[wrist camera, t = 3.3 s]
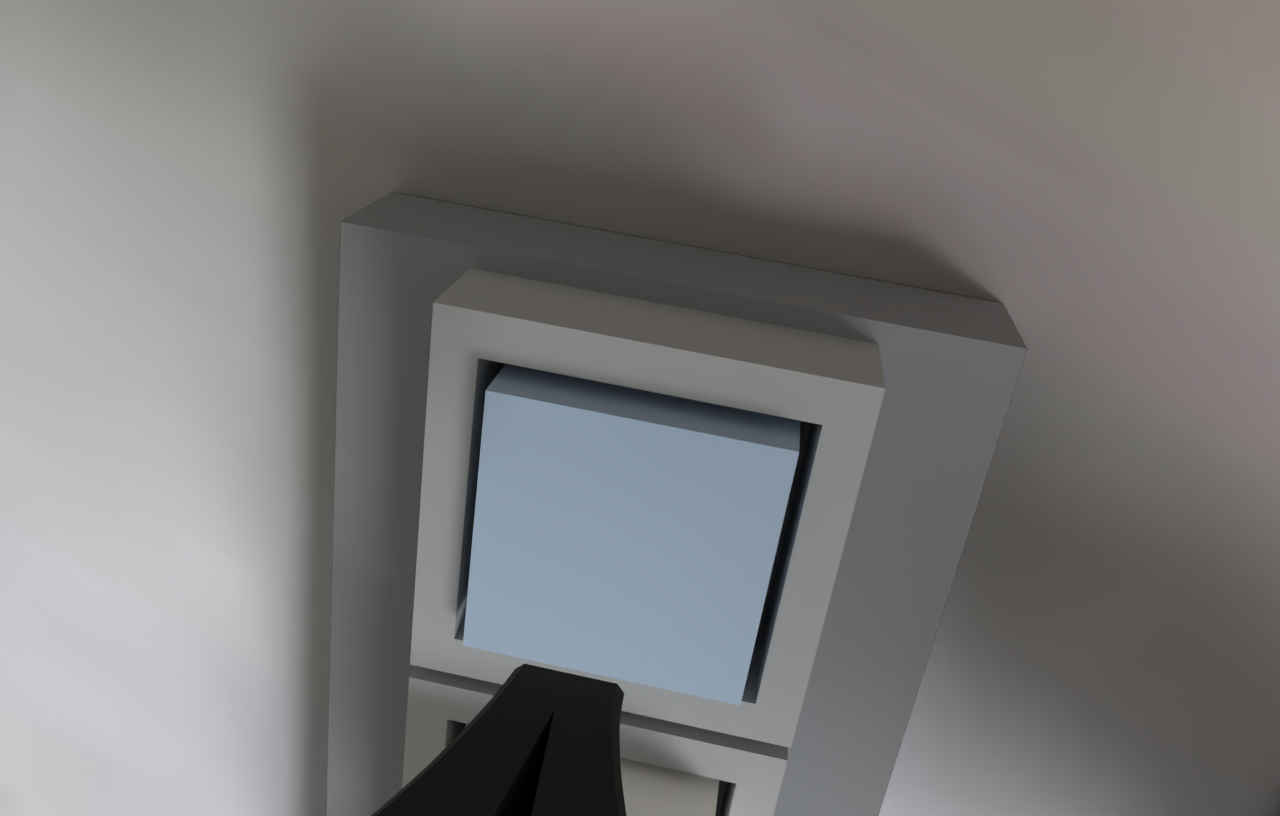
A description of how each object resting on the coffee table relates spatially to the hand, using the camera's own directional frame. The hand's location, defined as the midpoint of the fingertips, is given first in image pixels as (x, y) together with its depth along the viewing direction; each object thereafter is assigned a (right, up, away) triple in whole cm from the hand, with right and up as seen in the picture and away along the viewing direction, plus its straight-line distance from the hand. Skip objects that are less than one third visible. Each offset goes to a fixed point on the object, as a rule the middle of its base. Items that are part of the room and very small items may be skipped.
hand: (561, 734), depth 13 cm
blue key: (+1, +3, +6) cm, 7 cm away
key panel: (0, -3, +12) cm, 12 cm away
